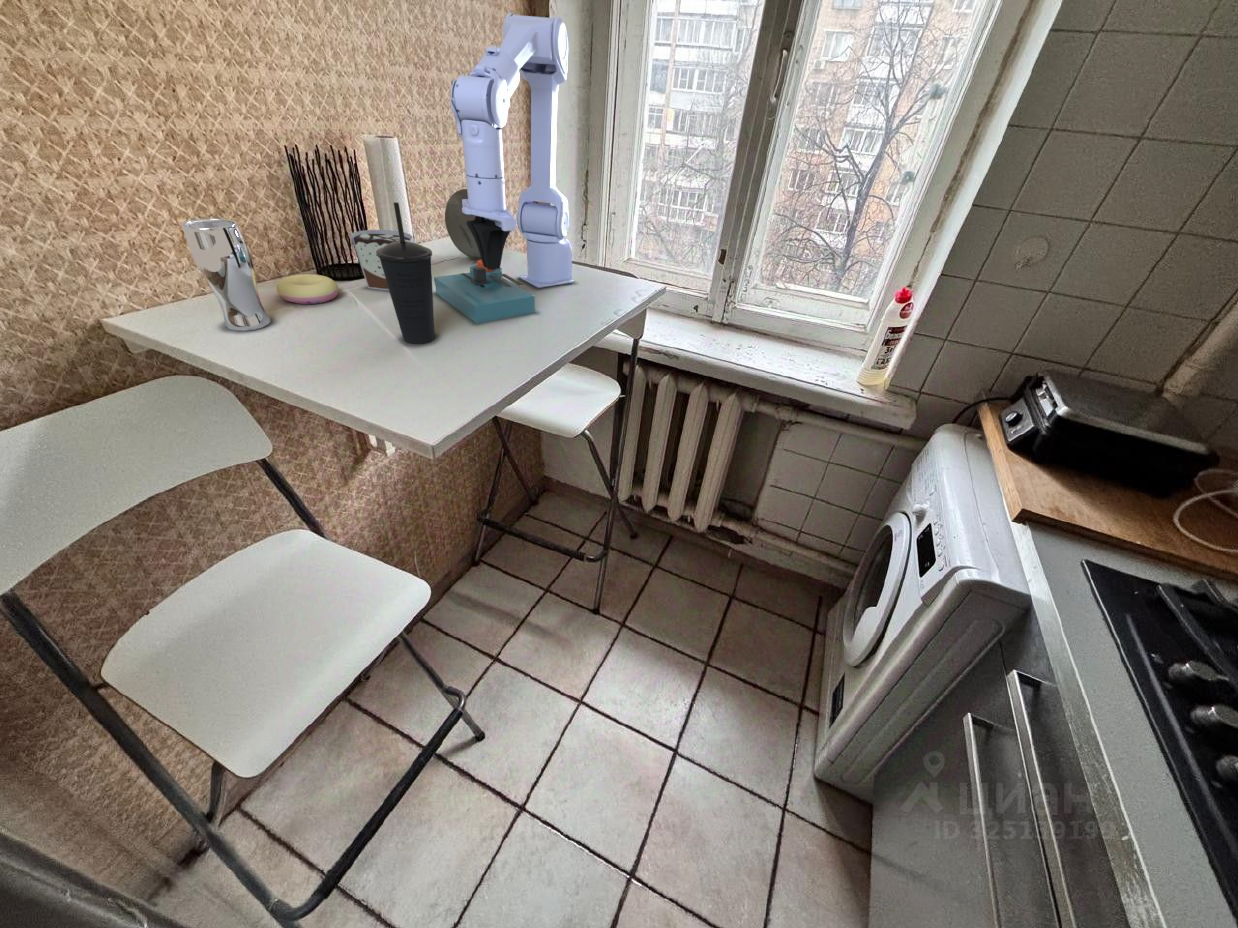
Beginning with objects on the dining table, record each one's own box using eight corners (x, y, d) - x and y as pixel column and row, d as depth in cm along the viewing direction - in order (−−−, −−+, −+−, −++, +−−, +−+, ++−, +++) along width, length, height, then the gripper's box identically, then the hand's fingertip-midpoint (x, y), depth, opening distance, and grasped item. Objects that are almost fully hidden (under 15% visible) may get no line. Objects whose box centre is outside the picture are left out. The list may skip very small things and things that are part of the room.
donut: (311, 298, 96) (268, 305, 88) (303, 273, 94) (259, 278, 86) (352, 298, 93) (312, 306, 85) (345, 272, 91) (304, 278, 83)
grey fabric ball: (519, 262, 120) (516, 193, 111) (467, 269, 111) (459, 196, 102) (489, 248, 127) (484, 183, 118) (438, 254, 119) (428, 185, 110)
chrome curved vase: (284, 321, 81) (250, 223, 72) (245, 335, 76) (203, 231, 66) (251, 313, 82) (214, 216, 73) (211, 326, 77) (166, 223, 68)
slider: (485, 280, 89) (484, 266, 88) (490, 283, 88) (489, 269, 87) (470, 282, 88) (469, 267, 86) (475, 285, 87) (474, 270, 85)
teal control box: (491, 285, 104) (489, 261, 101) (535, 312, 93) (534, 286, 90) (436, 293, 97) (432, 267, 94) (476, 323, 87) (473, 295, 84)
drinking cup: (416, 353, 75) (390, 210, 64) (384, 339, 78) (353, 200, 66) (454, 338, 81) (436, 205, 69) (422, 326, 84) (400, 196, 72)
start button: (489, 267, 99) (488, 258, 98) (497, 272, 97) (496, 262, 96) (474, 269, 97) (474, 260, 96) (482, 273, 95) (481, 264, 94)
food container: (433, 285, 101) (426, 233, 95) (421, 294, 96) (412, 240, 90) (376, 278, 101) (365, 226, 95) (360, 287, 97) (348, 233, 91)
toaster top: (496, 269, 97) (496, 269, 97) (523, 284, 91) (523, 284, 90) (453, 274, 92) (453, 274, 92) (479, 291, 86) (479, 291, 86)
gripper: (440, 168, 77) (451, 259, 85) (482, 184, 68) (490, 282, 76) (481, 169, 80) (488, 255, 89) (526, 183, 72) (529, 277, 80)
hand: (491, 267), depth 83 cm, fingers closed
